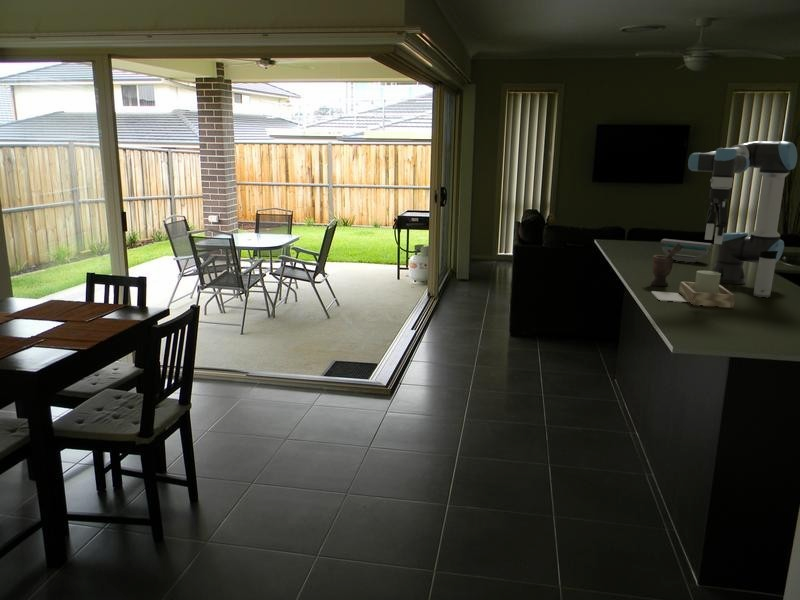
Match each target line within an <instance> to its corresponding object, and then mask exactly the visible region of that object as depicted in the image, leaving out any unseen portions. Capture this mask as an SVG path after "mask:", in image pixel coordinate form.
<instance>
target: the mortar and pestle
mask: <svg viewBox="0 0 800 600" xmlns="http://www.w3.org/2000/svg"><path fill="white" fill-rule="evenodd" d="M682 247H683V245H682V244H680V243H678V244H677V245H676V246H675V247H674V248H673V249H672V251H671V252H670V253H669V255H668V256H667V255H661V254H654V255H653V257H652V263H651V266H652V267H651V269H652V273H653V275H654V278H653V279H652V280H651V282H650V285H652V286H656V287H668V286H669V282H668V281H667V279H666V278H667V277H668V276H669V275H670V274H671V271H672V269H673V265H674V264H673V263H674V261H673V259H674V258H673V256H674V255H675V254H678V253H679V252H681V251H680V250H681V249H682Z"/></svg>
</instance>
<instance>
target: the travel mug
mask: <svg viewBox="0 0 800 600" xmlns="http://www.w3.org/2000/svg"><path fill="white" fill-rule="evenodd" d="M777 253H778V251H764V252H762V251H761V252H760V257H759V258H760V259H759V263H757V264H758V265H757V270H756V276H755V283H754V289H753V296H754V297H756V296H757V297H756V298H761V297H766V298H765V299H769V298H770V297H771V292H772V286H773V281H774V274H775V270H776V263H777V262H776V256H777ZM768 297H769V298H768Z"/></svg>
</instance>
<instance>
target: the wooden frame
mask: <svg viewBox="0 0 800 600" xmlns="http://www.w3.org/2000/svg"><path fill="white" fill-rule="evenodd" d="M694 288H695V282H693V281H680V282H679V287H678V293H680V294H681V295H682V297H683V298H685V299H686V300H687V301H688V303H689V302H690V303H691V304H693V305H692V306H700V305H703V307H715V306H718V308H719V307H720V308H730V309H733V308H734V306H735V300H736V295H735V294H734V293H733V292H731V291H730V290H728V289H727V288H725V287H724V286H723V285H721V284H719V289H718V294H716V293H701V292H695V291H694ZM690 303H689V304H690ZM691 304H690V305H691Z"/></svg>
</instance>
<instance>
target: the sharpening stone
mask: <svg viewBox="0 0 800 600" xmlns="http://www.w3.org/2000/svg"><path fill="white" fill-rule="evenodd" d="M678 243H680V244H682V245H683V247H682V249H681V250H680V251H679V252H686V253H695V254H697V255H696V256H694V255H687V254H678V253H676V254H675V255H674V256H673V258H674V259H673V260H680V261H689V262H694V263H696V262H697V261H699V260H700V259H702V258H703V257H704V256H706V255H707V254H709V248H711V247H712V245H713V244H712V243H711V242H702V241H700V242H699V241H691V240H682V239H681V240H680V239H670V238H663V239H661V240H660V244H664V245H662V246H661V247H662V248H661V250H662V252H663V253H664V254H665V256H668V255H669V253H670V252H671V251H672V249H673V248H674V247H675V246H676V245H677V244H678Z"/></svg>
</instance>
